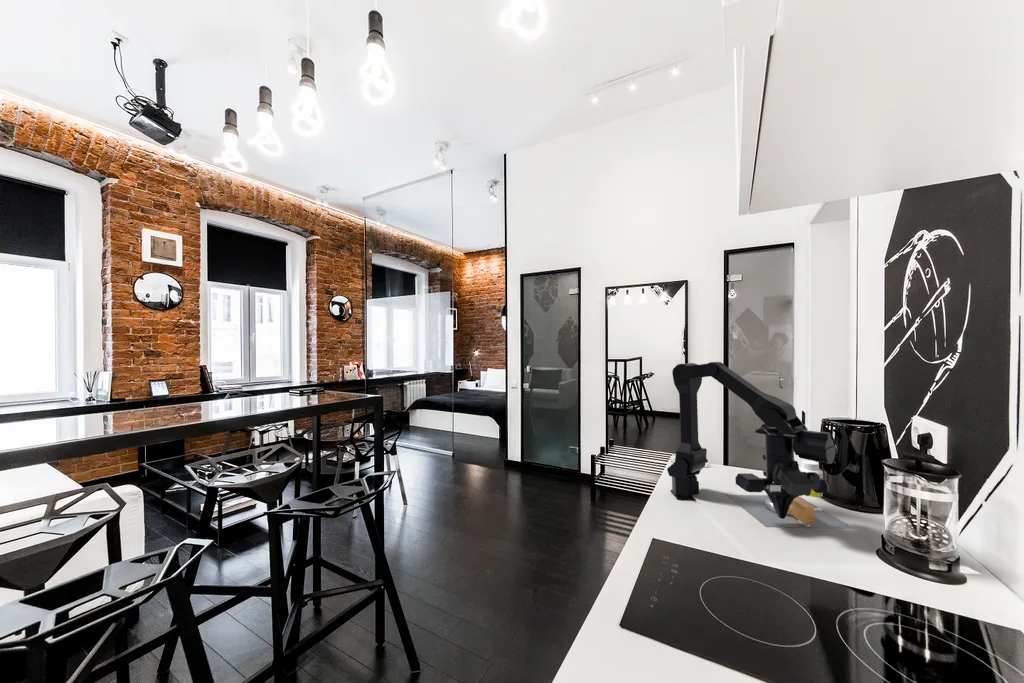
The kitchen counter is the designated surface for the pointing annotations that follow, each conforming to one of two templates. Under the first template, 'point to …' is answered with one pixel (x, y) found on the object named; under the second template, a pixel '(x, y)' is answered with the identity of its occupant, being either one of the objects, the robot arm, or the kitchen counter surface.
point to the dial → (796, 510)
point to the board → (771, 519)
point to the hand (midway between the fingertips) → (781, 518)
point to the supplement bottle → (812, 467)
